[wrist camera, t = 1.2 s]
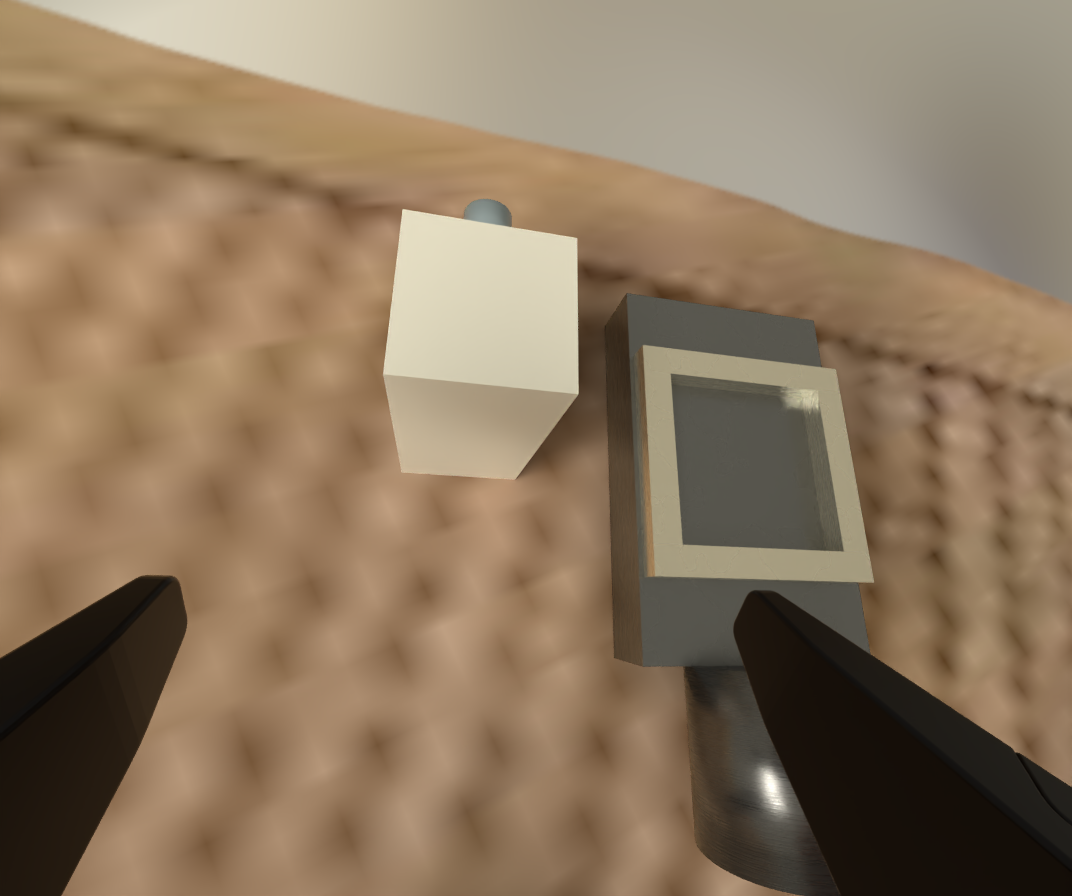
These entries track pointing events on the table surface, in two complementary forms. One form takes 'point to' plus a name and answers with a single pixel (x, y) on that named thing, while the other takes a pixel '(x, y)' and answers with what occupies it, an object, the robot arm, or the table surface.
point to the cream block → (479, 341)
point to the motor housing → (729, 544)
